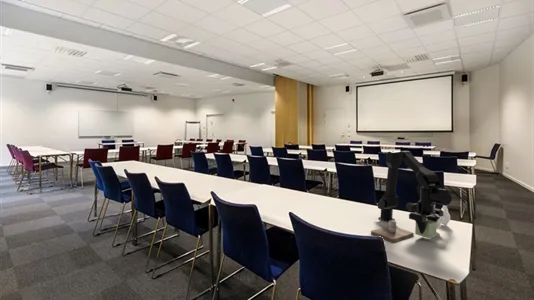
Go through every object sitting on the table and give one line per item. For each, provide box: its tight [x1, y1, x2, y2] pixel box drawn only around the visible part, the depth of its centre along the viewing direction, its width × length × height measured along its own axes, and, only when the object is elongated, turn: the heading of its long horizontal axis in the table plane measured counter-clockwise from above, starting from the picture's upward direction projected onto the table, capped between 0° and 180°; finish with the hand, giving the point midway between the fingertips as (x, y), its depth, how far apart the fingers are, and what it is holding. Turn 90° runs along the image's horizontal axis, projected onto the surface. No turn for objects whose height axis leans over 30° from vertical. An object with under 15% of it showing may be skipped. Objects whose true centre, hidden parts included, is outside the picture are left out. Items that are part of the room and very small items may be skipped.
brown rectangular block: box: [370, 220, 415, 243], centre depth 130 cm, size 16×12×7 cm
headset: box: [434, 205, 451, 236], centre depth 137 cm, size 20×7×18 cm, turn 130°
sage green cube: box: [414, 219, 437, 239], centre depth 124 cm, size 6×6×7 cm
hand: (425, 232), depth 125 cm, fingers closed on sage green cube, 6 cm apart
